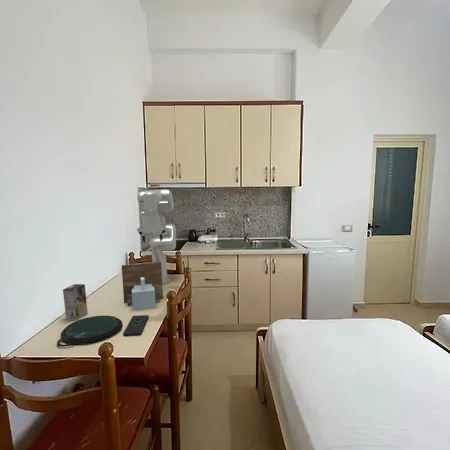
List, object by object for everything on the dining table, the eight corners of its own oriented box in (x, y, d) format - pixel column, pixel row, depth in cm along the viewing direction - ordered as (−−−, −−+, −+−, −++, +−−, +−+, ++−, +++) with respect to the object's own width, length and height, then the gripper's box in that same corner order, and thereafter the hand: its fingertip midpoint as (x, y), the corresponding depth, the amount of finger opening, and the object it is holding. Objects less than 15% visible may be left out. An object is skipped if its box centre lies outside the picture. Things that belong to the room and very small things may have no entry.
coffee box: (77, 312, 167) (74, 283, 165) (87, 313, 165) (85, 284, 163) (65, 320, 158) (62, 289, 156) (76, 320, 156) (74, 289, 155)
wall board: (124, 302, 180) (121, 265, 177) (162, 297, 186) (160, 261, 183) (123, 306, 173) (121, 268, 171) (163, 301, 179) (161, 264, 177)
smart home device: (149, 314, 158) (141, 332, 139) (149, 317, 159) (141, 336, 139) (132, 315, 158) (122, 333, 138) (132, 318, 158) (122, 337, 138)
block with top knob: (133, 302, 179) (131, 275, 177) (154, 300, 182) (152, 273, 181) (132, 310, 167) (131, 281, 165) (155, 307, 171) (154, 279, 169)
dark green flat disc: (134, 319, 150) (79, 348, 123) (134, 325, 150) (80, 355, 124) (96, 310, 162) (39, 335, 136) (96, 316, 162) (39, 341, 136)
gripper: (135, 214, 178) (137, 244, 180) (166, 213, 182) (167, 241, 185) (135, 213, 185) (137, 241, 187) (165, 211, 189) (166, 239, 192)
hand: (152, 241), depth 186 cm, fingers open, 9 cm apart
